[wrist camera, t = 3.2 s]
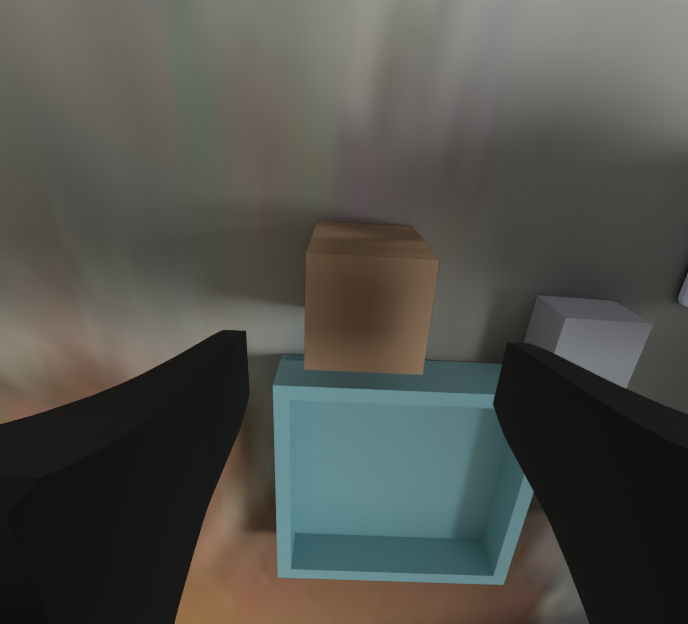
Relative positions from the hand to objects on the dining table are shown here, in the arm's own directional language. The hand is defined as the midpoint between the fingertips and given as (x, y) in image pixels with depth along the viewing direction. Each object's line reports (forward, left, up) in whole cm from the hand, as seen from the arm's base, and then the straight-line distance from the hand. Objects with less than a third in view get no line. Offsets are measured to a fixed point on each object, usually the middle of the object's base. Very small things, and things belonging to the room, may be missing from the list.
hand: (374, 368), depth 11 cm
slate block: (-11, +3, -10) cm, 15 cm away
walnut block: (0, 0, -9) cm, 9 cm away
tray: (-3, +12, -9) cm, 15 cm away
